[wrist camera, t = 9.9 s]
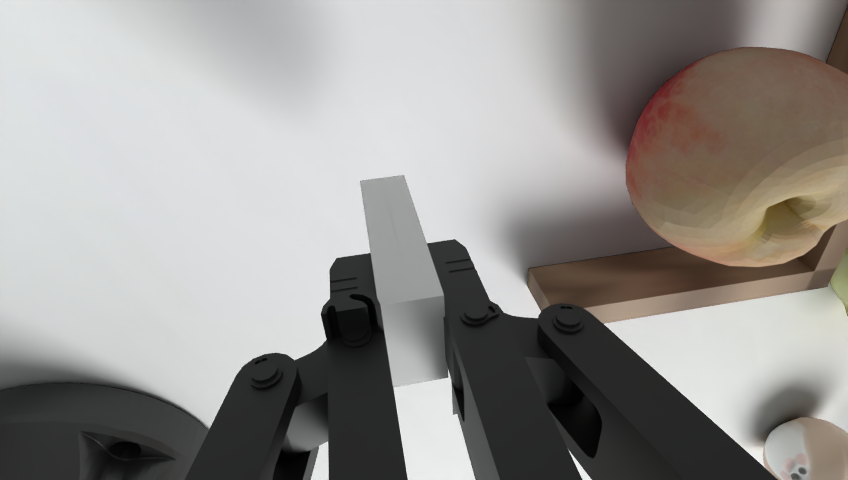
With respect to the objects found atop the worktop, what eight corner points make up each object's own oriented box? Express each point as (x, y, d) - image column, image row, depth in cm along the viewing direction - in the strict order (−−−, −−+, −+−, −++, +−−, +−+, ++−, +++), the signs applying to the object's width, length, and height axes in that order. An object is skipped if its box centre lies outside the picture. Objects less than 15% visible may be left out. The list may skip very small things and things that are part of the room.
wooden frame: (527, 286, 26) (552, 331, 23) (553, -83, 17) (600, -86, 14) (773, 249, 27) (826, 286, 24) (919, -110, 18) (1031, -118, 15)
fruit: (558, 166, 22) (656, 266, 15) (680, -6, 19) (870, 28, 12) (674, 226, 25) (797, 331, 18) (796, 86, 22) (999, 154, 15)
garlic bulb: (730, 440, 38) (815, 549, 31) (804, 392, 36) (911, 497, 29) (766, 463, 41) (850, 567, 34) (835, 420, 39) (940, 522, 32)
